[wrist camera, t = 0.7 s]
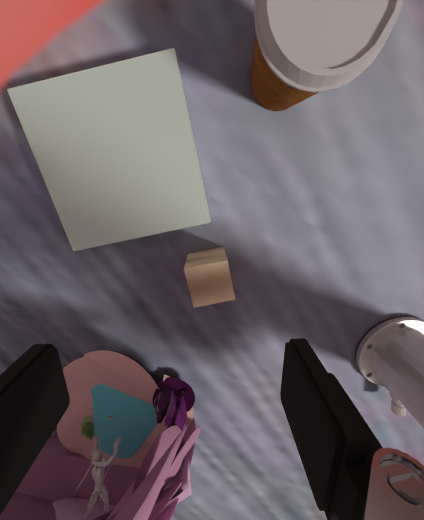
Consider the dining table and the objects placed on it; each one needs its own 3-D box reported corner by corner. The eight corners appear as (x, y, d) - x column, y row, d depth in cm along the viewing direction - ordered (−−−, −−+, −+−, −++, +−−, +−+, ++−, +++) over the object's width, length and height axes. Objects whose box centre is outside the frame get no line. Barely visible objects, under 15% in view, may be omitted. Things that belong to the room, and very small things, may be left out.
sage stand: (210, 218, 30) (210, 222, 27) (85, 245, 31) (73, 251, 28) (178, 63, 25) (174, 47, 22) (29, 99, 26) (6, 89, 23)
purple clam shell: (151, 295, 39) (-24, 445, 11) (240, 400, 40) (290, 780, 12) (5, 415, 42) (-441, 784, 13) (91, 509, 43) (-150, 1027, 15)
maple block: (230, 279, 33) (235, 299, 27) (196, 286, 33) (193, 307, 27) (223, 246, 31) (227, 260, 26) (187, 253, 32) (183, 268, 26)
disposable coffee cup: (241, 18, 24) (273, -136, 12) (331, 30, 24) (441, -106, 13) (230, 122, 27) (247, 75, 15) (310, 131, 27) (385, 92, 16)
